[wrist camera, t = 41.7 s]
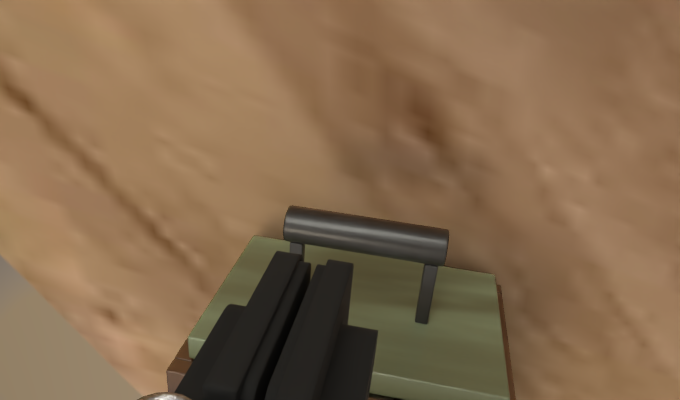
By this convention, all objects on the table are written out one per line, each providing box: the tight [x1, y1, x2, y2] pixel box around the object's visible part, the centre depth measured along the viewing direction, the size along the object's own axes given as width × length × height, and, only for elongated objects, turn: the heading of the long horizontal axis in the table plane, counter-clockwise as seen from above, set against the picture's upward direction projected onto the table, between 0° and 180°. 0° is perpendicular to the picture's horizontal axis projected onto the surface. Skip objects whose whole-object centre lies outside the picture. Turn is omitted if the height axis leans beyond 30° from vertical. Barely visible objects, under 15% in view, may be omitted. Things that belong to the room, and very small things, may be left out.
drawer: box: [188, 205, 510, 400], centre depth 29 cm, size 20×13×9 cm, turn 176°
